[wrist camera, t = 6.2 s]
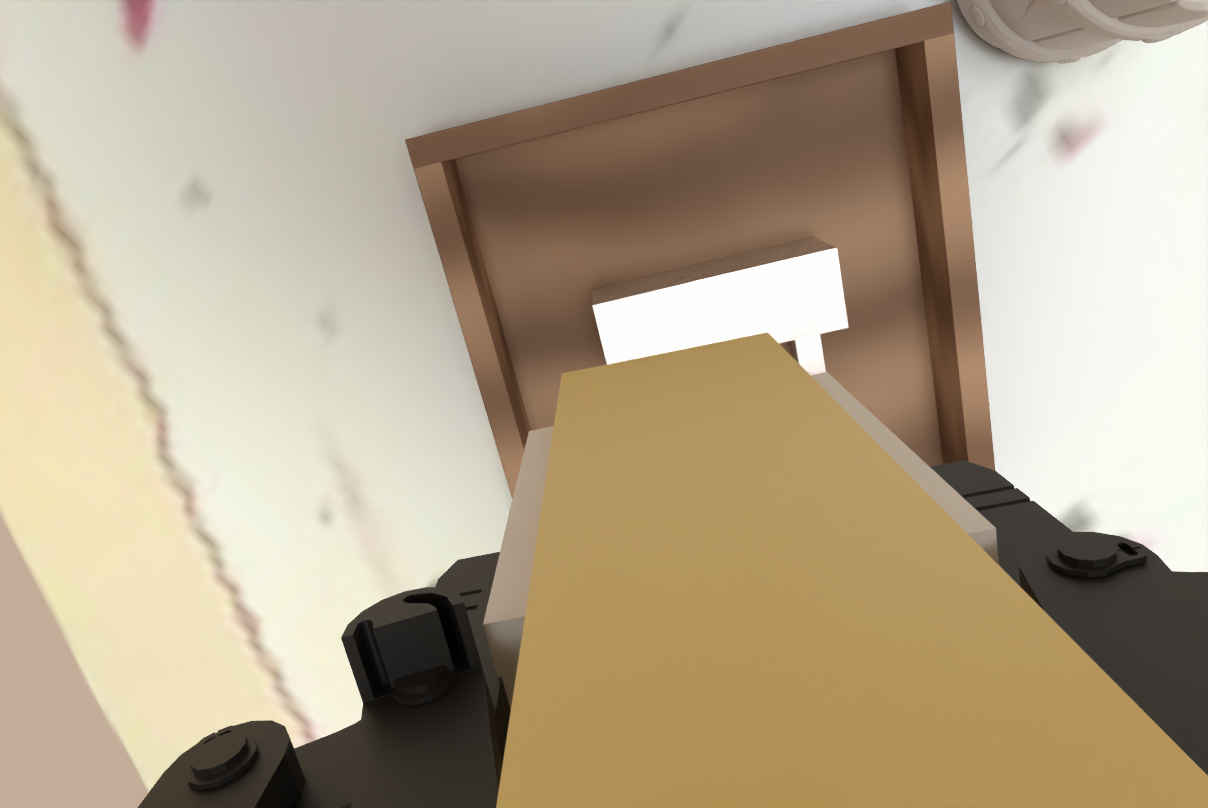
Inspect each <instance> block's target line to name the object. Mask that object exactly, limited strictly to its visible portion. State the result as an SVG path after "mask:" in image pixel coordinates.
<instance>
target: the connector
mask: <svg viewBox="0 0 1208 808" xmlns="http://www.w3.org/2000/svg"><path fill="white" fill-rule="evenodd" d="M496 808H1208V776H1207V775H1206V774H1205V773H1204V771H1203V770H1202V769H1201V768H1200V767H1199V766H1198V765H1197V764H1196V763H1195V762H1194V761H1193V760H1192V759H1191V758H1190V757H1189V756H1188V755H1187V754H1186V753H1185V752H1184V751H1183V750H1182V749H1181V748H1180V747H1179V746H1178V745H1177V744H1176V743H1175V742H1174V741H1173V740H1172V739H1171V738H1170V737H1169V736H1168V735H1167V734H1166V733H1165V732H1164V731H1163V730H1162V729H1161V728H1160V727H1159V726H1158V725H1157V724H1156V723H1155V722H1154V721H1153V720H1152V719H1151V718H1150V717H1149V716H1148V715H1147V714H1146V713H1145V712H1144V711H1143V710H1142V709H1141V708H1140V707H1139V706H1138V705H1137V704H1136V703H1135V702H1134V701H1133V700H1132V699H1131V698H1130V697H1129V696H1128V695H1127V694H1126V693H1125V692H1124V691H1123V690H1122V689H1121V688H1120V687H1119V686H1118V685H1117V684H1116V683H1115V682H1114V681H1113V680H1112V679H1111V678H1110V677H1109V676H1108V675H1107V674H1106V673H1105V672H1104V671H1103V670H1102V669H1101V668H1100V667H1099V666H1098V665H1097V664H1096V663H1095V662H1094V661H1093V660H1092V659H1091V658H1090V657H1089V656H1088V655H1087V654H1086V653H1085V652H1084V651H1083V650H1082V649H1081V648H1080V647H1079V646H1078V645H1077V644H1076V643H1075V641H1074V640H1073V639H1072V638H1071V637H1070V636H1069V635H1068V634H1067V633H1066V632H1065V631H1064V630H1063V629H1062V628H1061V627H1060V626H1059V625H1058V624H1057V623H1056V622H1055V621H1054V620H1053V619H1052V618H1051V617H1050V616H1049V615H1048V614H1047V613H1046V612H1045V611H1044V610H1043V609H1042V608H1041V607H1040V606H1039V605H1038V604H1037V603H1036V602H1035V601H1034V600H1033V599H1032V598H1031V597H1030V596H1029V595H1028V594H1027V593H1026V592H1025V591H1024V590H1023V589H1022V588H1021V587H1020V586H1019V585H1018V584H1017V583H1016V582H1015V581H1014V580H1013V579H1012V578H1011V577H1010V576H1009V575H1008V574H1007V573H1006V572H1005V571H1004V570H1003V569H1002V568H1001V567H1000V566H999V565H998V564H997V563H996V562H995V561H994V560H993V559H992V558H991V557H990V556H989V555H988V554H987V553H986V552H985V551H984V550H983V549H982V548H981V547H980V546H979V545H978V544H977V543H976V542H975V541H974V540H973V539H972V538H971V537H970V536H969V535H968V534H967V533H966V532H965V531H964V530H963V529H962V528H961V527H960V526H959V525H958V524H957V523H956V522H955V521H954V520H953V519H952V518H951V517H950V516H949V515H948V514H947V513H946V511H945V510H944V509H943V508H942V507H941V506H940V505H939V504H938V503H937V502H936V501H935V500H934V499H933V498H932V497H931V496H930V495H929V494H928V493H927V492H926V491H925V490H924V489H923V488H922V487H921V486H920V485H919V484H918V483H917V482H916V481H915V480H914V479H913V478H912V477H911V476H910V475H909V474H908V473H907V472H906V471H905V470H904V469H903V468H902V467H901V466H900V465H899V464H898V463H897V462H896V461H895V460H894V459H893V458H892V457H891V456H890V455H889V454H888V453H887V452H886V451H885V450H884V449H883V448H882V447H881V446H880V445H879V444H878V443H877V442H876V441H875V440H874V439H873V438H872V437H871V436H870V435H869V434H868V433H867V432H866V431H865V430H864V429H863V428H862V427H861V426H860V425H859V424H858V423H857V422H856V421H855V420H854V419H853V418H852V417H851V416H850V415H849V414H848V413H847V412H846V411H845V410H844V409H843V408H842V407H841V406H840V405H839V404H838V403H837V402H836V401H835V400H834V399H833V398H832V397H831V396H830V395H829V394H828V393H827V392H826V391H825V390H824V389H823V388H822V387H821V386H820V385H819V384H818V383H817V381H816V380H815V379H814V378H813V377H812V376H811V375H810V374H809V373H808V372H807V371H806V370H805V369H804V368H803V367H802V366H801V365H800V364H799V363H798V362H797V361H796V360H795V359H794V358H793V357H792V356H791V355H790V354H789V353H788V352H787V351H786V350H785V349H784V348H783V347H782V346H781V345H780V344H779V343H778V342H777V341H776V340H775V339H774V338H773V337H772V336H771V335H770V334H769V333H768V332H766V333H761V334H756V335H751V336H746V337H741V338H736V339H731V340H726V341H721V342H716V343H711V344H706V345H701V346H696V347H691V348H686V349H681V350H676V351H671V352H666V353H661V354H656V355H651V356H646V357H642V358H637V359H632V360H627V361H622V362H617V363H612V364H607V365H602V366H597V367H592V368H587V369H582V370H577V371H572V372H567V373H562V375H561V382H560V388H559V395H558V402H557V408H556V415H555V421H554V428H553V435H552V441H551V448H550V454H549V461H548V468H547V474H546V481H545V488H544V494H543V501H542V507H541V514H540V521H539V527H538V534H537V540H536V547H535V554H534V560H533V567H532V574H531V580H530V587H529V593H528V600H527V607H526V613H525V620H524V626H523V633H522V640H521V646H520V653H519V659H518V666H517V673H516V679H515V686H514V693H513V699H512V706H511V712H510V719H509V726H508V732H507V739H506V745H505V752H504V759H503V765H502V772H501V779H500V785H499V792H498V798H497V805H496Z"/></svg>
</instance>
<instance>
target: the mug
mask: <svg viewBox="0 0 1208 808" xmlns="http://www.w3.org/2000/svg"><path fill="white" fill-rule="evenodd" d="M956 1H957V3H958V6H959V8H960V10H961V12H962V14H963V16H964V18H965V20H966V21H967V23H968V24H969V26H970V27H971V28H972V30H973V31H974V32H975V33H976V34H977V35H978V36H979V37H980V38H982V39H983V40H984V41H986V42H987V43H989V44H990V45H992V46H994V47H997V48H1000V49H1002V50H1003V51H1005V52H1007V53H1009V54H1011V55H1013V56H1015V57H1018V58H1021V59H1025V60H1029V61H1035V62H1058V63H1070V62H1074V61H1077V60H1079V59H1080V58H1081V57H1086V56H1089V55H1092V54H1095V53H1098V52H1100V51H1102V50H1104V49H1107V48H1109V47H1110V46H1112V45H1114V44H1116V43H1117V42H1119V41H1121V40H1134V41H1138V40H1142V41H1143V42H1145V43H1154V42H1159V41H1162V40H1165V39H1168V38H1170V37H1172V36H1173V35H1177V34H1180V33H1182V32H1183V31H1186V30H1188V29H1190V28H1193V27H1195V26H1197V25H1199V24H1202V23H1203V22H1205V21H1207V20H1208V0H956Z"/></svg>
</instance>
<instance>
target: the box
mask: <svg viewBox="0 0 1208 808" xmlns="http://www.w3.org/2000/svg"><path fill="white" fill-rule="evenodd" d="M405 141H406V144H407V148H408V151H409V155H410V158H411V161H412V165H413V168H414V171H415V175H416V178H417V181H418V185H419V188H420V191H421V195H422V198H423V201H424V205H425V208H426V211H427V215H428V218H429V221H430V225H431V228H432V231H433V235H434V238H435V241H436V245H437V248H438V252H439V255H440V258H441V262H442V265H443V268H444V272H445V275H446V278H447V282H448V285H449V288H450V292H451V295H452V298H453V302H454V305H455V308H456V312H457V315H458V318H459V322H460V325H461V328H462V332H463V335H464V339H465V342H466V345H467V349H468V352H469V355H470V359H471V362H472V365H473V369H474V372H475V375H476V379H477V382H478V385H479V389H480V392H481V395H482V399H483V402H484V405H485V409H486V412H487V415H488V419H489V422H490V426H491V429H492V432H493V436H494V439H495V442H496V446H497V449H498V452H499V456H500V459H501V462H502V466H503V469H504V472H505V476H506V479H507V482H508V486H509V489H510V492H511V496H512V499H513V496H514V492H515V488H516V483H517V479H518V475H519V471H520V467H521V463H522V458H523V454H524V450H525V446H526V442H527V437H528V433H529V431H532V430H537V429H542V428H547V427H552V426H554V421H555V415H556V408H557V402H558V395H559V388H560V382H561V375H562V373H567V372H572V371H577V370H582V369H587V368H592V367H597V366H602V365H607V362H606V358H605V354H604V350H603V346H602V342H601V338H600V334H599V330H598V326H597V322H596V318H595V314H594V309H593V288H597V287H601V286H605V285H610V284H614V283H618V282H622V281H626V280H631V279H635V278H639V277H643V276H647V275H652V274H656V273H660V272H664V271H669V270H673V269H677V268H681V267H685V266H690V265H694V264H698V263H702V262H706V261H711V260H715V259H719V258H723V257H728V256H732V255H736V254H740V253H744V252H749V251H753V250H757V249H761V248H765V247H770V246H774V245H778V244H782V243H786V242H791V241H795V240H799V239H803V238H808V237H812V236H814V237H816V238H818V239H820V240H822V241H824V242H826V243H828V244H830V245H832V246H834V247H836V248H837V252H838V259H839V266H840V272H841V279H842V286H843V293H844V300H845V306H846V313H847V320H848V328H844V329H840V330H835V331H831V332H827V333H822V334H820V338H821V344H822V350H823V357H824V363H825V369H826V372H828V373H829V374H830V375H831V376H832V377H833V378H834V379H835V380H836V381H837V382H838V383H839V384H841V385H842V386H843V387H844V388H845V389H846V390H847V391H848V392H849V393H850V394H851V395H852V396H854V397H855V398H856V399H857V400H858V401H859V402H860V403H861V404H862V405H863V406H864V407H865V408H867V409H868V410H869V411H870V412H871V413H872V414H873V415H874V416H875V417H876V418H877V419H878V420H880V421H881V422H882V423H883V424H884V425H885V426H886V427H887V428H888V429H889V430H890V431H891V432H893V433H894V434H895V435H896V436H897V437H898V438H899V439H900V440H901V441H902V442H903V443H904V444H905V445H907V446H908V447H909V448H910V449H911V450H912V451H913V452H914V453H915V454H916V455H917V456H918V457H920V458H921V459H922V460H923V461H924V462H925V463H926V464H927V465H928V466H929V467H931V466H936V465H941V464H947V463H952V462H957V461H962V460H965V461H968V462H971V463H974V464H977V465H980V466H983V467H986V468H989V469H992V470H995V464H994V453H993V443H992V432H991V421H990V411H989V400H988V390H987V379H986V368H985V358H984V347H983V337H982V326H981V315H980V305H979V294H978V284H977V273H976V262H975V252H974V241H973V231H972V220H971V210H970V199H969V188H968V178H967V167H966V157H965V146H964V135H963V125H962V114H961V104H960V93H959V82H958V72H957V61H956V51H955V40H954V30H953V19H952V8H951V2H947V3H943V4H939V5H935V6H931V7H927V8H923V9H919V10H915V11H912V12H908V13H904V14H900V15H896V16H892V17H888V18H884V19H880V20H876V21H872V22H868V23H864V24H860V25H856V26H852V27H848V28H844V29H841V30H837V31H833V32H829V33H825V34H821V35H817V36H813V37H809V38H805V39H801V40H797V41H793V42H789V43H785V44H781V45H777V46H773V47H770V48H766V49H762V50H758V51H754V52H750V53H746V54H742V55H738V56H734V57H730V58H726V59H722V60H718V61H714V62H710V63H706V64H702V65H698V66H695V67H691V68H687V69H683V70H679V71H675V72H671V73H667V74H663V75H659V76H655V77H651V78H647V79H643V80H639V81H635V82H631V83H627V84H624V85H620V86H616V87H612V88H608V89H604V90H600V91H596V92H592V93H588V94H584V95H580V96H576V97H572V98H568V99H564V100H560V101H556V102H553V103H549V104H545V105H541V106H537V107H533V108H529V109H525V110H521V111H517V112H513V113H509V114H505V115H501V116H497V117H493V118H489V119H485V120H482V121H478V122H474V123H470V124H466V125H462V126H458V127H454V128H450V129H446V130H442V131H438V132H434V133H430V134H426V135H422V136H418V137H414V138H410V139H407V140H405ZM779 344H780V345H781V346H782V347H783V348H784V349H785V350H786V351H787V352H788V353H789V354H790V355H791V356H792V351H791V345H790V341H787V342H783V343H779Z"/></svg>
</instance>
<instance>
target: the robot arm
mask: <svg viewBox="0 0 1208 808" xmlns="http://www.w3.org/2000/svg"><path fill="white" fill-rule="evenodd" d="M811 376H812V377H813V378H814V379H815V380H816V381H817V383H818V384H819V385H820V386H821V387H822V388H823V389H824V390H825V391H826V392H827V393H828V394H829V395H830V396H831V397H832V398H833V399H834V400H835V401H836V402H837V403H838V404H839V405H840V406H841V407H842V408H843V409H844V410H845V411H846V412H847V413H848V414H849V415H850V416H851V417H852V418H853V419H854V420H855V421H856V422H857V423H858V424H859V425H860V426H861V427H862V428H863V429H864V430H865V431H866V432H867V433H868V434H869V435H870V436H871V437H872V438H873V439H874V440H875V441H876V442H877V443H878V444H879V445H880V446H881V447H882V448H883V449H884V450H885V451H886V452H887V453H888V454H889V455H890V456H891V457H892V458H893V459H894V460H895V461H896V462H897V463H898V464H899V465H900V466H901V467H902V468H903V469H904V470H905V471H906V472H907V473H908V474H909V475H910V476H911V477H912V478H913V479H914V480H915V481H916V482H917V483H918V484H919V485H920V486H921V487H922V488H923V489H924V490H925V491H926V492H927V493H928V494H929V495H930V496H931V497H932V498H933V499H934V500H935V501H936V502H937V503H938V504H939V505H940V506H941V507H942V508H943V509H944V510H945V511H946V513H947V514H948V515H949V516H950V517H951V518H952V519H953V520H954V521H955V522H956V523H957V524H958V525H959V526H960V527H961V528H962V529H963V530H964V531H965V532H966V533H967V534H968V535H969V536H970V537H971V538H972V539H973V540H974V541H975V542H976V543H977V544H978V545H979V546H980V547H981V548H982V549H983V550H984V551H985V552H986V553H987V554H988V555H989V556H990V557H991V558H992V559H993V560H994V561H995V562H996V563H997V564H998V565H999V566H1000V567H1001V568H1002V569H1003V570H1004V571H1005V572H1006V573H1007V574H1008V575H1009V576H1010V577H1011V578H1012V579H1013V580H1014V581H1015V582H1016V583H1017V584H1018V585H1019V586H1020V587H1021V588H1022V589H1023V590H1024V591H1025V592H1026V593H1027V594H1028V595H1029V596H1030V597H1031V598H1032V599H1033V600H1034V601H1035V602H1036V603H1037V604H1038V605H1039V606H1040V607H1041V608H1042V609H1043V610H1044V611H1045V612H1046V613H1047V614H1048V615H1049V616H1050V617H1051V618H1052V619H1053V620H1054V621H1055V622H1056V623H1057V624H1058V625H1059V626H1060V627H1061V628H1062V629H1063V630H1064V631H1065V632H1066V633H1067V634H1068V635H1069V636H1070V637H1071V638H1072V639H1073V640H1074V641H1075V643H1076V644H1077V645H1078V646H1079V647H1080V648H1081V649H1082V650H1083V651H1084V652H1085V653H1086V654H1087V655H1088V656H1089V657H1090V658H1091V659H1092V660H1093V661H1094V662H1095V663H1096V664H1097V665H1098V666H1099V667H1100V668H1101V669H1102V670H1103V671H1104V672H1105V673H1106V674H1107V675H1108V676H1109V677H1110V678H1111V679H1112V680H1113V681H1114V682H1115V683H1116V684H1117V685H1118V686H1119V687H1120V688H1121V689H1122V690H1123V691H1124V692H1125V693H1126V694H1127V695H1128V696H1129V697H1130V698H1131V699H1132V700H1133V701H1134V702H1135V703H1136V704H1137V705H1138V706H1139V707H1140V708H1141V709H1142V710H1143V711H1144V712H1145V713H1146V714H1147V715H1148V716H1149V717H1150V718H1151V719H1152V720H1153V721H1154V722H1155V723H1156V724H1157V725H1158V726H1159V727H1160V728H1161V729H1162V730H1163V731H1164V732H1165V733H1166V734H1167V735H1168V736H1169V737H1170V738H1171V739H1172V740H1173V741H1174V742H1175V743H1176V744H1177V745H1178V746H1179V747H1180V748H1181V749H1182V750H1183V751H1184V752H1185V753H1186V754H1187V755H1188V756H1189V757H1190V758H1191V759H1192V760H1193V761H1194V762H1195V763H1196V764H1197V765H1198V766H1199V767H1200V768H1201V769H1202V770H1203V771H1204V773H1205V774H1206V775H1207V776H1208V572H1173V571H1171V570H1170V569H1169V568H1168V567H1167V565H1166V564H1165V563H1164V562H1163V561H1162V560H1161V559H1160V558H1159V557H1158V555H1156V554H1155V553H1153V552H1152V551H1151V550H1149V549H1148V548H1146V547H1145V546H1144V545H1142V544H1140V543H1137V542H1134V541H1131V540H1128V539H1126V538H1123V537H1120V536H1115V535H1109V534H1102V533H1096V532H1073V531H1071V530H1070V529H1069V528H1067V527H1066V526H1065V525H1064V524H1062V523H1061V522H1060V521H1058V520H1057V519H1056V518H1055V517H1053V516H1052V515H1051V514H1050V513H1048V512H1047V511H1046V510H1044V509H1043V508H1042V507H1041V506H1039V505H1038V504H1037V503H1036V502H1034V501H1030V498H1029V497H1028V496H1027V495H1025V494H1024V493H1023V492H1021V491H1020V490H1019V489H1018V488H1016V489H1014V485H1013V484H1011V483H1010V482H1009V481H1007V480H1006V479H1005V478H1004V477H1002V476H1001V475H1000V474H998V473H997V472H996V471H995V470H992V469H989V468H986V467H983V466H980V465H977V464H974V463H971V462H968V461H965V460H962V461H957V462H952V463H947V464H941V465H936V466H931V467H929V466H928V465H927V464H926V463H925V462H924V461H923V460H922V459H921V458H920V457H918V456H917V455H916V454H915V453H914V452H913V451H912V450H911V449H910V448H909V447H908V446H907V445H905V444H904V443H903V442H902V441H901V440H900V439H899V438H898V437H897V436H896V435H895V434H894V433H893V432H891V431H890V430H889V429H888V428H887V427H886V426H885V425H884V424H883V423H882V422H881V421H880V420H878V419H877V418H876V417H875V416H874V415H873V414H872V413H871V412H870V411H869V410H868V409H867V408H865V407H864V406H863V405H862V404H861V403H860V402H859V401H858V400H857V399H856V398H855V397H854V396H852V395H851V394H850V393H849V392H848V391H847V390H846V389H845V388H844V387H843V386H842V385H841V384H839V383H838V382H837V381H836V380H835V379H834V378H833V377H832V376H831V375H830V374H829V373H828V372H824V373H819V374H814V375H811ZM553 428H554V426H552V427H547V428H542V429H537V430H532V431H529V433H528V437H527V442H526V446H525V450H524V454H523V458H522V463H521V467H520V471H519V475H518V479H517V483H516V488H515V492H514V496H513V500H512V504H511V509H510V513H509V517H508V521H507V525H506V530H505V534H504V538H503V542H502V546H501V551H500V552H497V553H492V554H486V555H481V556H476V557H471V558H466V559H460V560H457V561H456V562H455V563H454V564H453V565H452V566H451V567H450V568H449V569H448V570H447V571H446V572H445V573H444V574H443V575H442V576H441V577H440V578H439V579H438V582H437V584H436V587H435V588H432V587H426V588H421V589H415V590H410V591H405V592H402V593H400V594H397V595H394V596H391V597H389V598H386V599H383V600H381V601H380V602H378V603H376V604H374V605H373V606H371V607H369V608H368V609H366V610H364V611H362V612H361V613H360V614H359V615H358V616H357V617H356V618H355V619H354V620H353V621H351V622H350V623H349V624H348V626H347V627H346V629H345V631H344V633H343V635H342V637H341V639H342V642H343V645H344V648H345V651H346V654H347V657H348V659H349V662H350V665H351V668H352V671H353V674H354V677H355V680H356V683H357V686H358V689H359V692H360V695H361V698H362V701H363V710H362V718H361V720H360V721H358V722H357V723H355V724H353V725H351V726H349V727H347V728H345V729H342V730H340V731H338V732H336V733H333V734H331V735H328V736H326V737H323V738H320V739H318V740H315V741H313V742H310V743H308V744H305V745H303V746H300V747H297V748H295V749H294V748H293V745H292V743H291V740H290V737H289V735H288V733H287V730H286V728H285V726H283V725H281V724H278V723H276V722H274V721H250V722H246V723H243V724H239V725H235V726H229V727H226V728H224V729H221V730H219V731H218V733H216V734H215V732H214V733H212V734H210V735H209V736H207V737H205V738H203V739H202V740H200V742H199V743H197V744H196V745H195V746H193V747H192V748H190V749H189V750H187V751H186V752H185V753H183V754H182V755H180V756H179V757H178V758H177V760H176V761H175V762H174V763H173V764H172V765H171V766H170V767H169V768H168V769H167V770H166V771H165V772H164V773H163V774H162V776H161V777H160V778H159V780H158V781H157V782H156V784H155V785H154V786H153V788H152V789H151V790H150V792H149V793H148V795H147V796H146V797H145V799H144V800H143V801H142V803H141V804H140V805H139V807H138V808H496V805H497V798H498V792H499V785H500V779H501V772H502V765H503V759H504V752H505V745H506V739H507V732H508V726H509V719H510V712H511V706H512V699H513V693H514V686H515V679H516V673H517V666H518V659H519V653H520V646H521V640H522V633H523V626H524V620H525V613H526V607H527V600H528V593H529V587H530V580H531V574H532V567H533V560H534V554H535V547H536V540H537V534H538V527H539V521H540V514H541V507H542V501H543V494H544V488H545V481H546V474H547V468H548V461H549V454H550V448H551V441H552V435H553Z"/></svg>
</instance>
